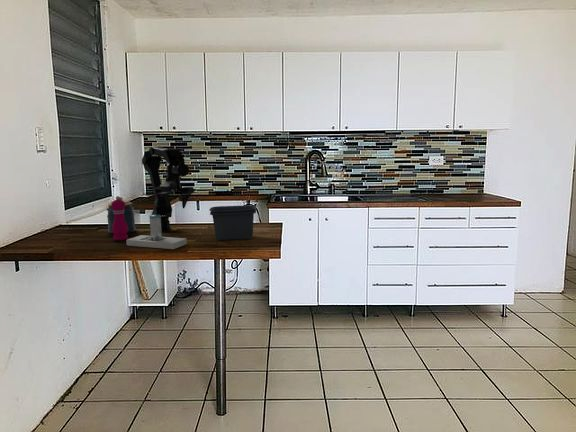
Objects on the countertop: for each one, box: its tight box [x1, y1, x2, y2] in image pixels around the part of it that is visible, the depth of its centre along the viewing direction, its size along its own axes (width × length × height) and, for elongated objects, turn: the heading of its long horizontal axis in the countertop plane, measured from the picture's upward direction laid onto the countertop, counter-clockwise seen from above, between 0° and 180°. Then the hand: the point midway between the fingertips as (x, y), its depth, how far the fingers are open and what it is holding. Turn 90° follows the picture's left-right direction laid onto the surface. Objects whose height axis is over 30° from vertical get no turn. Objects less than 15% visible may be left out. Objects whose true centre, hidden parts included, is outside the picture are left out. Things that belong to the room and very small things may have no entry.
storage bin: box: [208, 204, 257, 241], centre depth 213 cm, size 21×16×14 cm
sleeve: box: [149, 214, 163, 241], centre depth 200 cm, size 5×5×13 cm
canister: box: [106, 196, 136, 235], centre depth 230 cm, size 13×13×18 cm
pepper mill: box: [111, 195, 129, 241], centre depth 213 cm, size 7×7×20 cm
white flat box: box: [125, 234, 188, 250], centre depth 201 cm, size 24×10×3 cm, turn 70°
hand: (175, 207), depth 220 cm, fingers open, 9 cm apart
